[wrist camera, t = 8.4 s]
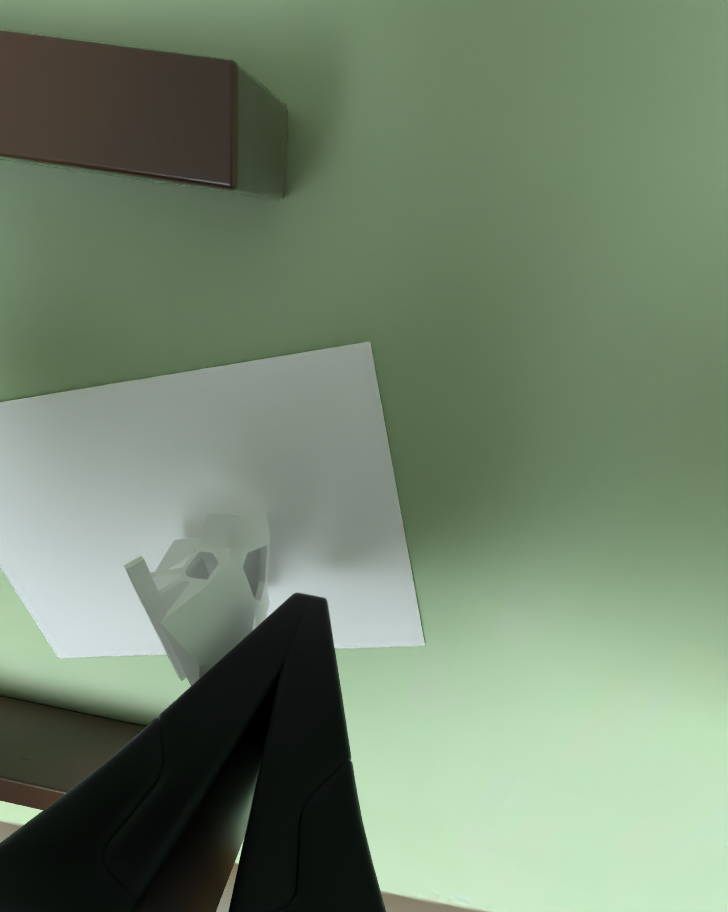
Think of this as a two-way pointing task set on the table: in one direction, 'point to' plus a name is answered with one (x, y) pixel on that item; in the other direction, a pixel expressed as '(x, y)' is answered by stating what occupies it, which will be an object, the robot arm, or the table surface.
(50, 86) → the frame
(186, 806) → the robot arm
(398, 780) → the table surface
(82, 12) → the table surface
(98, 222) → the table surface
